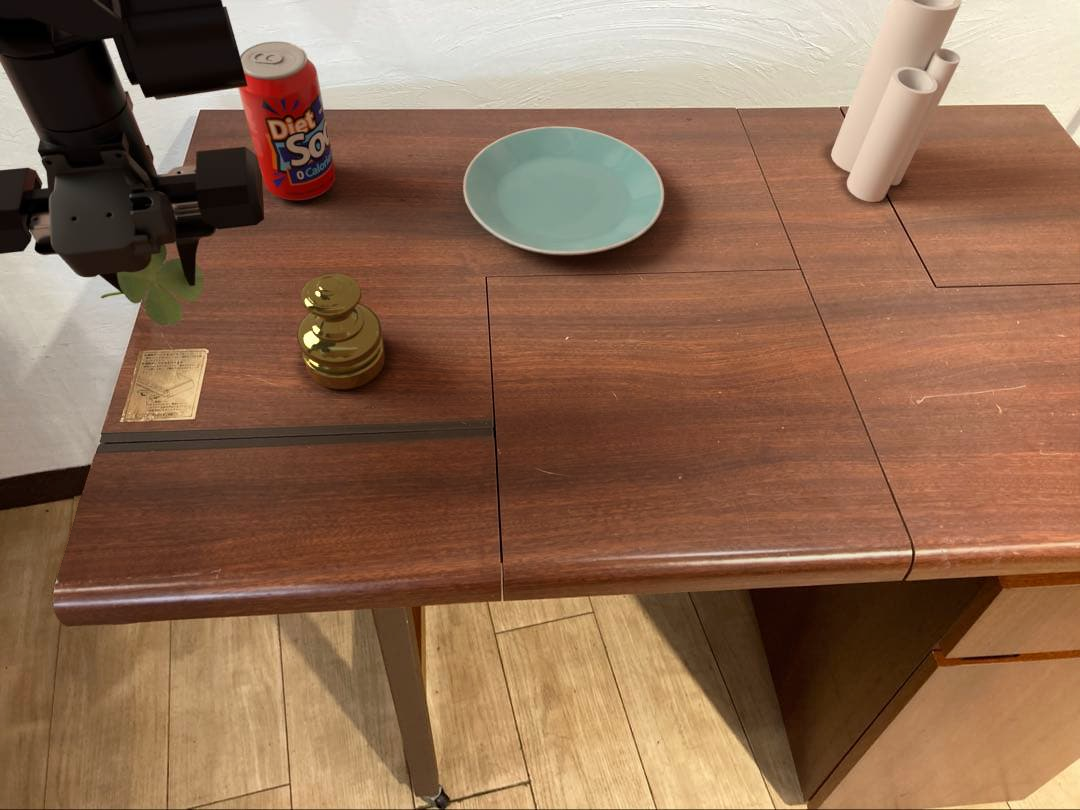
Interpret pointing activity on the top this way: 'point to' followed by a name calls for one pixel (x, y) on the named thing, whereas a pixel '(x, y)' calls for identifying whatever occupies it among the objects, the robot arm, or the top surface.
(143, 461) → the top surface
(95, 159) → the robot arm
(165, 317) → the green clover leaf
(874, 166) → the vase
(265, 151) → the soda can
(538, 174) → the plate
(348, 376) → the brass weight
